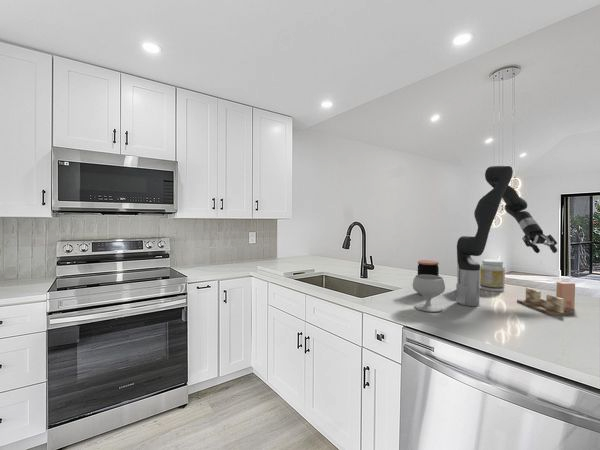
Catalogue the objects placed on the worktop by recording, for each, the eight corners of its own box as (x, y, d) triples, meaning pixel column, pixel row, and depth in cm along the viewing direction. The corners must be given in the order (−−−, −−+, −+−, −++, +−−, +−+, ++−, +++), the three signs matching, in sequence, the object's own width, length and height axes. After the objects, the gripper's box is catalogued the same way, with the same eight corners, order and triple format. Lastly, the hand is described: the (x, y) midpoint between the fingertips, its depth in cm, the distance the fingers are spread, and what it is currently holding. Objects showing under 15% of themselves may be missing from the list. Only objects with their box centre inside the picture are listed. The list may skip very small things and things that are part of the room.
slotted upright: (556, 307, 143) (556, 282, 142) (568, 307, 143) (569, 282, 142) (561, 309, 140) (562, 283, 139) (574, 309, 140) (575, 283, 139)
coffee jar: (441, 296, 161) (442, 263, 161) (421, 296, 162) (422, 263, 161) (433, 291, 172) (433, 260, 171) (414, 291, 172) (414, 260, 172)
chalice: (451, 310, 139) (451, 277, 138) (432, 315, 132) (432, 281, 131) (424, 302, 151) (425, 272, 150) (406, 307, 144) (406, 275, 143)
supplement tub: (484, 285, 185) (484, 258, 185) (507, 289, 176) (508, 260, 175) (476, 289, 177) (477, 260, 177) (500, 293, 168) (501, 262, 167)
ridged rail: (517, 301, 151) (517, 287, 151) (536, 301, 151) (537, 287, 151) (550, 315, 131) (551, 299, 131) (573, 315, 131) (573, 298, 131)
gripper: (520, 223, 160) (536, 247, 149) (547, 223, 159) (566, 247, 148) (513, 232, 165) (528, 256, 154) (539, 232, 165) (556, 256, 154)
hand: (547, 252), depth 151 cm, fingers open, 8 cm apart
